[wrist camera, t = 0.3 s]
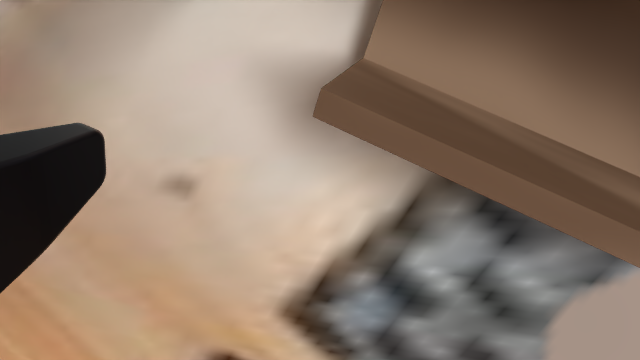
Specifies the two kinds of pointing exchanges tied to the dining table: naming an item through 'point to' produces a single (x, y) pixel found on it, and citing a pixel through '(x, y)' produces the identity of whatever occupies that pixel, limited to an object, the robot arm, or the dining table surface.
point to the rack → (510, 105)
